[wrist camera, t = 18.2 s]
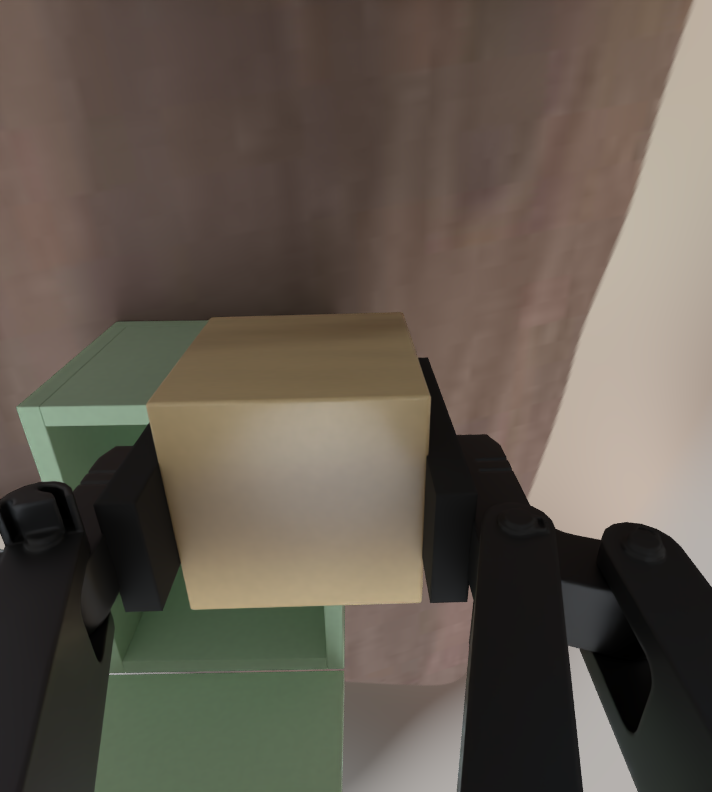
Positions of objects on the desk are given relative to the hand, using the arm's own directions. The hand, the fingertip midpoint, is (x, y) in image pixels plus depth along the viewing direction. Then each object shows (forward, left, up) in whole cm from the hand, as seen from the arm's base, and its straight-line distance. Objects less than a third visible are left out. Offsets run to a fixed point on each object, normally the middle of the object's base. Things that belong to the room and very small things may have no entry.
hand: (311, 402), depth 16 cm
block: (0, 0, 0) cm, 0 cm away
